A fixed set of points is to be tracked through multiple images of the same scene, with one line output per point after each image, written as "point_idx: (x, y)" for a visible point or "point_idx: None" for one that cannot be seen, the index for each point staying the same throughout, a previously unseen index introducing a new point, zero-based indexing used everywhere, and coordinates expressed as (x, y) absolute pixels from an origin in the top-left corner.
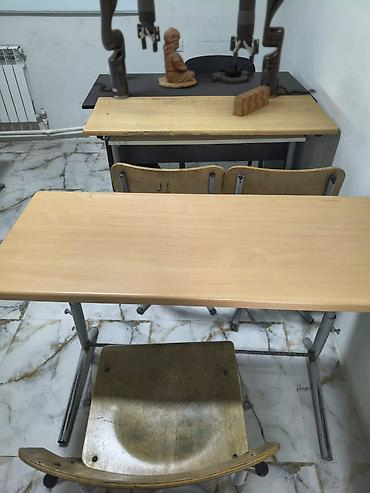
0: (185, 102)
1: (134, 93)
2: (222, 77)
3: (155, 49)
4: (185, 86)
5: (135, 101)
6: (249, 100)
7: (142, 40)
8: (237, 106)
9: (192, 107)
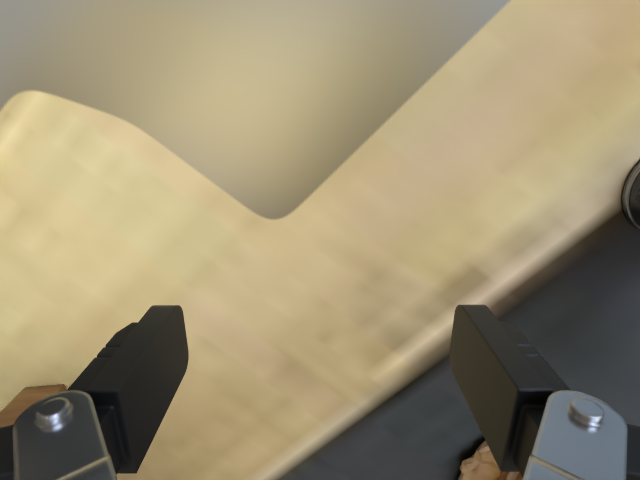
0: (319, 348)
1: (632, 263)
2: None
3: (114, 340)
4: (464, 460)
5: (531, 192)
6: None
7: (537, 411)
8: (18, 412)
9: (243, 328)
